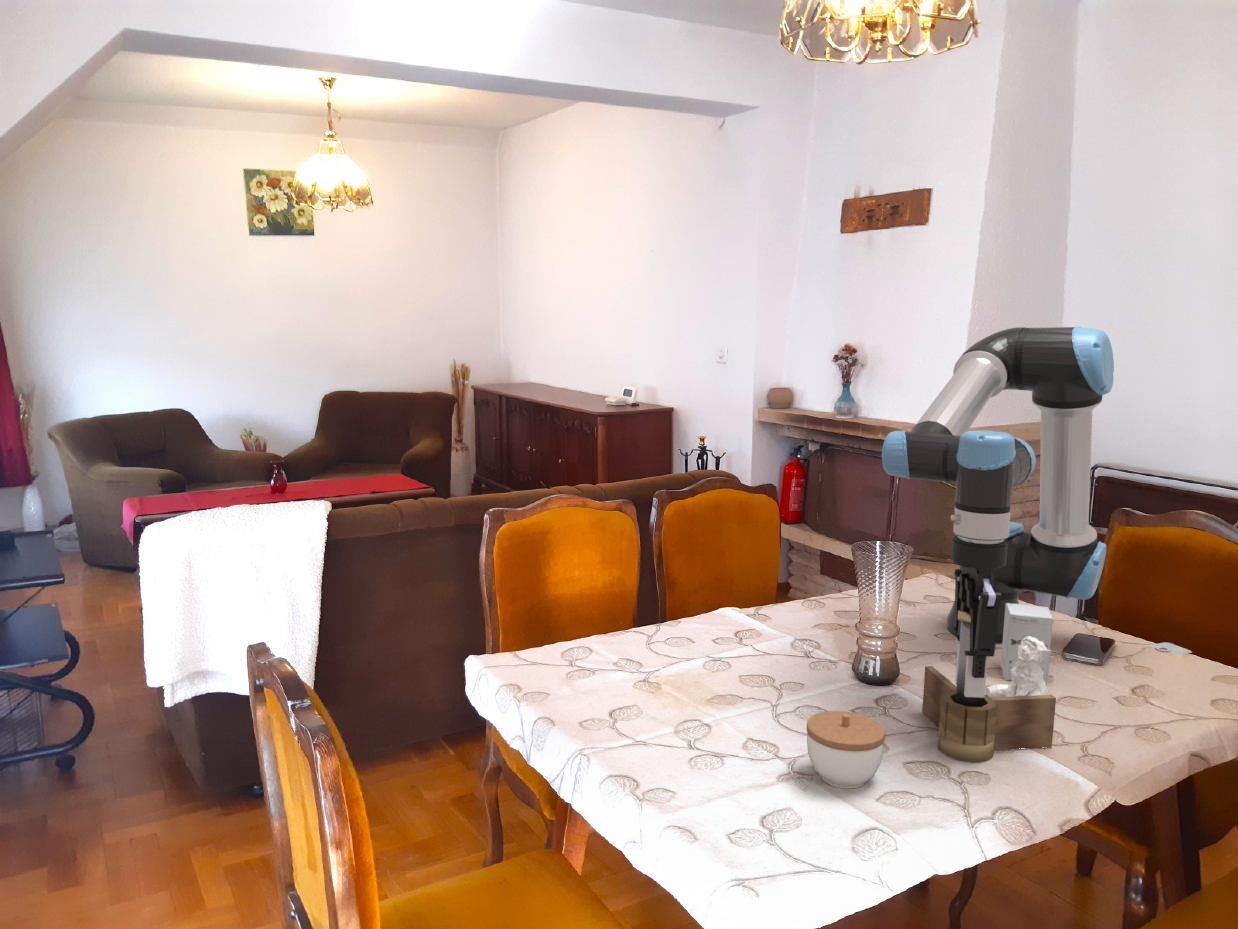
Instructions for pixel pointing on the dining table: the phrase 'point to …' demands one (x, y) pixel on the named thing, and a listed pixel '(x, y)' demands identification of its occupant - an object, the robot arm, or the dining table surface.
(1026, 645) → the sitting furry creature
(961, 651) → the hinge pin
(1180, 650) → the mounting bracket
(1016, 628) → the supplement box
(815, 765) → the lidded jar
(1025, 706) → the hinge
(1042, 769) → the dining table surface
